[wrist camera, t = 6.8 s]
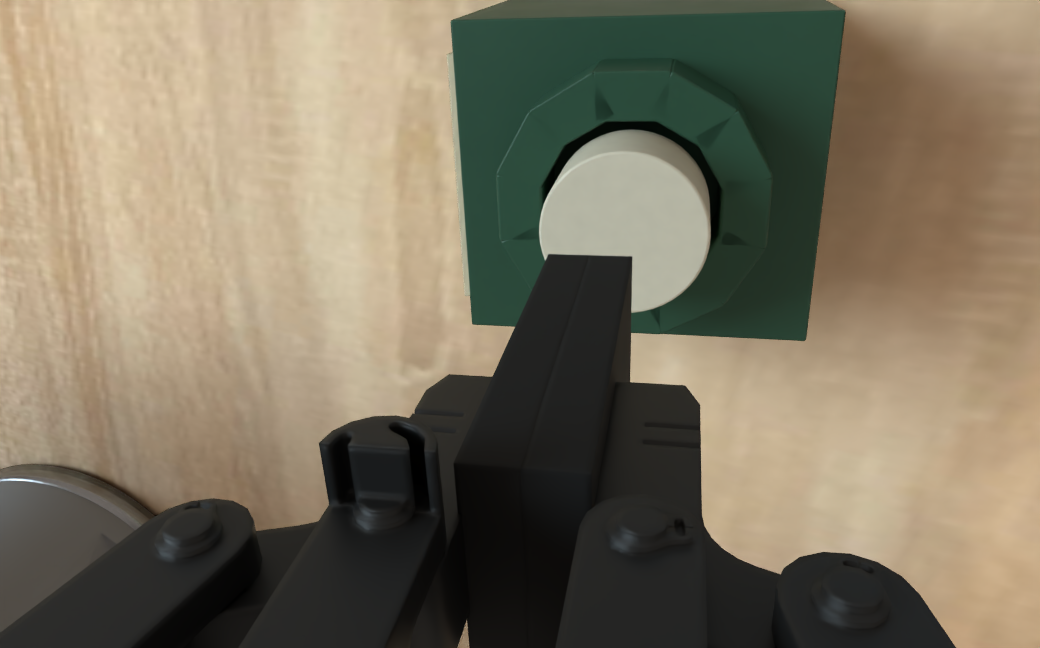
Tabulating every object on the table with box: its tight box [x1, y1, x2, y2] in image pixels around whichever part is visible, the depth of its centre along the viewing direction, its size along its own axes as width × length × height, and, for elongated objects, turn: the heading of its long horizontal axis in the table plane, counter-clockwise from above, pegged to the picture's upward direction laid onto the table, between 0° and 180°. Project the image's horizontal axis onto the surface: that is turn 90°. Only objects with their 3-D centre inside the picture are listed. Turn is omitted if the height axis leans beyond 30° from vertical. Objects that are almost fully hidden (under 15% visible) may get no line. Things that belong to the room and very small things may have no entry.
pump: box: [539, 130, 711, 313], centre depth 20 cm, size 4×4×2 cm
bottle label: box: [447, 52, 470, 296], centre depth 26 cm, size 1×7×5 cm, turn 3°
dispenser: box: [451, 0, 846, 341], centre depth 25 cm, size 10×9×10 cm
